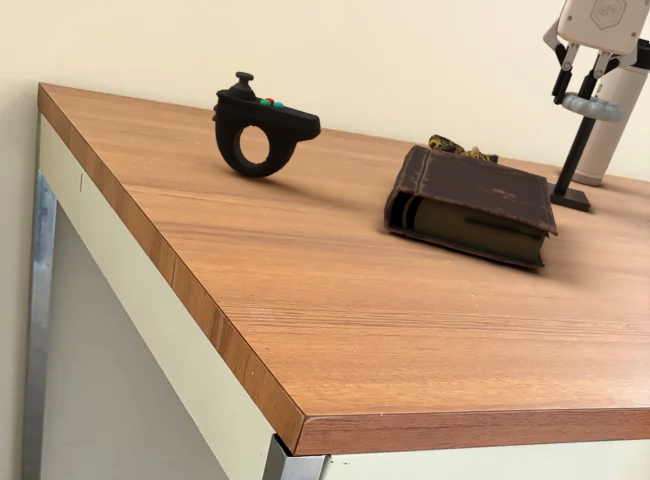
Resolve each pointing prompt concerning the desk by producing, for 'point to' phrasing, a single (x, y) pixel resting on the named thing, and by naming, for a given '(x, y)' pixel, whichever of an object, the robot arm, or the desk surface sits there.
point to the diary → (471, 206)
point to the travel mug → (605, 136)
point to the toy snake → (458, 148)
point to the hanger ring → (593, 108)
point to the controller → (271, 117)
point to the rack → (573, 171)
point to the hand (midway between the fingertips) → (567, 105)
